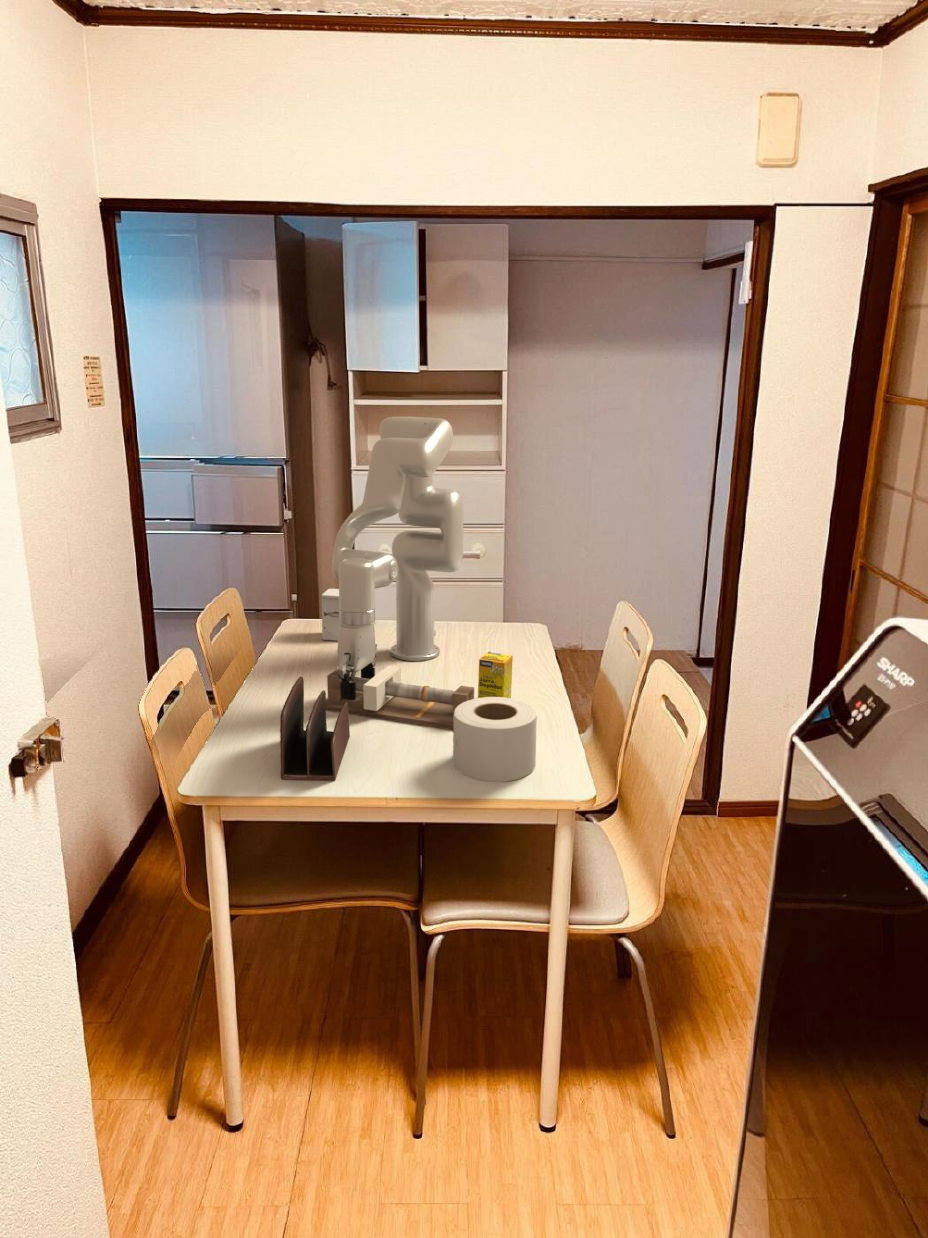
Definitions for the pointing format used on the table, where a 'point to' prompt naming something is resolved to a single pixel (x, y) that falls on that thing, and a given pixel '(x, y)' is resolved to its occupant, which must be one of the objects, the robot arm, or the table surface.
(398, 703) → the pipe stand
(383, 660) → the table surface
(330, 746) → the letter holder
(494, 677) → the supplement box
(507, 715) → the white paper roll
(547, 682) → the table surface
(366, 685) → the collar
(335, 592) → the supplement box
